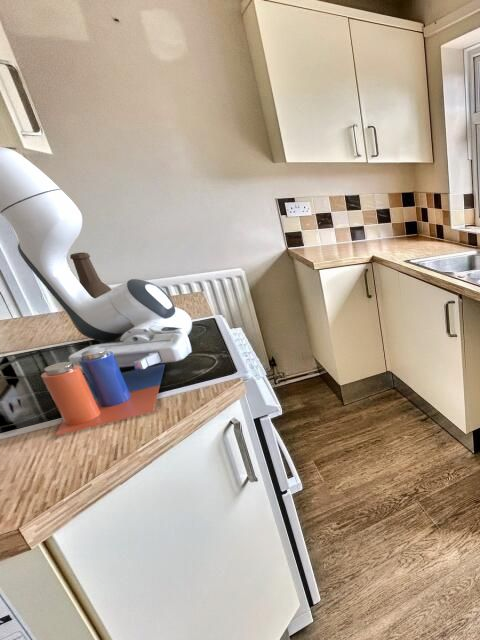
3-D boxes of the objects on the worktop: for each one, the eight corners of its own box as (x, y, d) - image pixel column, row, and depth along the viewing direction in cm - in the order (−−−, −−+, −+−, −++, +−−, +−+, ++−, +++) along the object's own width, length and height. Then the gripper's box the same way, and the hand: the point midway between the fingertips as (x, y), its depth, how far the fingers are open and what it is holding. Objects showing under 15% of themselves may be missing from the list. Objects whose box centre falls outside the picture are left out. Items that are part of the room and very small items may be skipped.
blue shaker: (96, 409, 83) (73, 359, 79) (101, 398, 87) (79, 350, 82) (129, 402, 85) (108, 352, 81) (132, 391, 89) (113, 344, 85)
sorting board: (55, 438, 75) (54, 435, 75) (88, 381, 95) (87, 379, 95) (154, 413, 82) (153, 411, 82) (165, 365, 102) (164, 363, 102)
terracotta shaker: (61, 428, 77) (34, 374, 73) (68, 415, 81) (43, 364, 77) (97, 419, 79) (73, 367, 75) (103, 408, 83) (80, 357, 79)
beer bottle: (96, 337, 120) (59, 253, 111) (131, 330, 125) (99, 249, 115) (94, 345, 115) (56, 257, 105) (131, 338, 119) (97, 253, 110)
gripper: (88, 336, 95) (42, 361, 82) (191, 326, 99) (162, 349, 87) (99, 361, 97) (56, 389, 85) (199, 351, 102) (172, 376, 89)
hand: (111, 369), depth 86 cm, fingers open, 8 cm apart
